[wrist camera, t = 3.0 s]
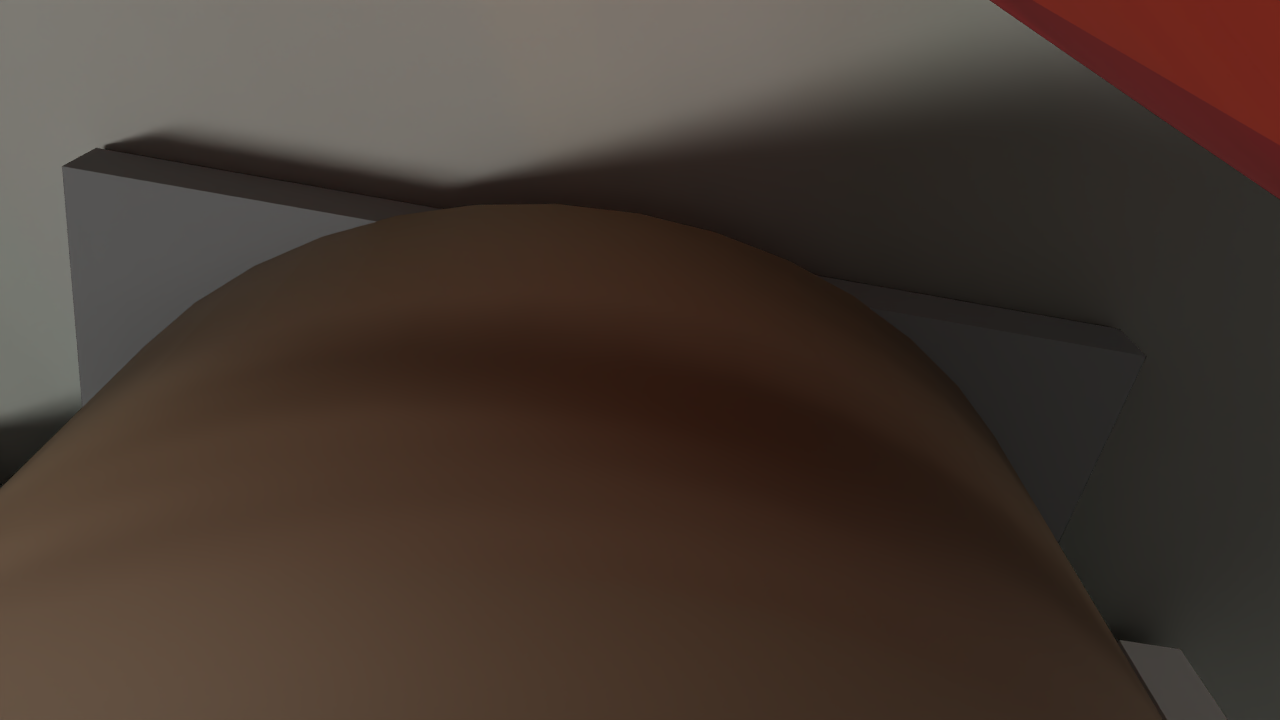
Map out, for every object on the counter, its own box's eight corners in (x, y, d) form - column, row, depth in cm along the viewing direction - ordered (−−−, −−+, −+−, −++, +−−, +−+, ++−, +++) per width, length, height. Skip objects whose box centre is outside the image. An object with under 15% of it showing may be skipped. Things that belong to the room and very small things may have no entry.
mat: (96, 148, 9) (62, 166, 9) (1119, 329, 10) (1146, 356, 9) (143, 851, 14) (122, 892, 13) (845, 937, 14) (852, 979, 14)
